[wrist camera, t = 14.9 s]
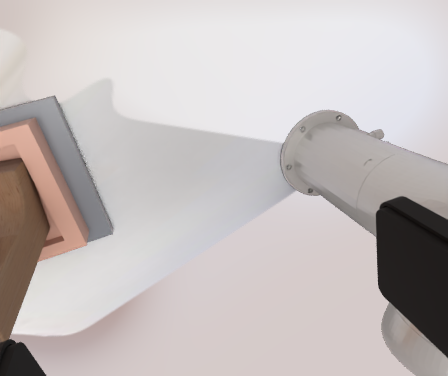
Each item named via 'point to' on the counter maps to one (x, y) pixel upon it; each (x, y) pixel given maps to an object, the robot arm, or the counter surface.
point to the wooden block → (18, 238)
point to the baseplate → (66, 159)
